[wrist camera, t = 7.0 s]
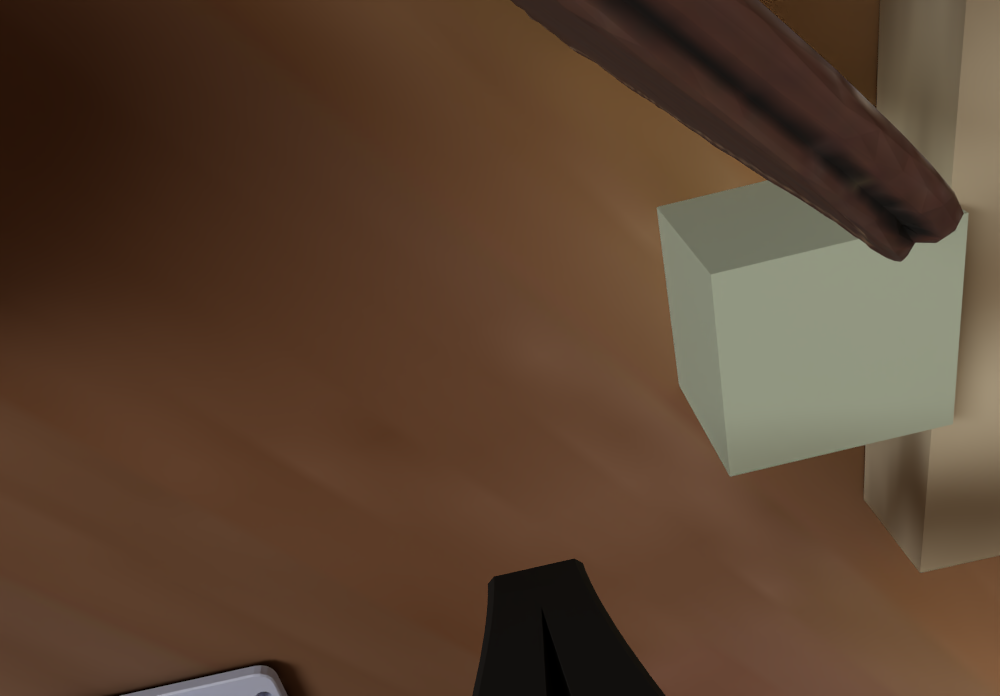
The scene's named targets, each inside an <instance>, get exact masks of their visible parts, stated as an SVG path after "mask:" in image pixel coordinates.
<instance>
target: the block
mask: <svg viewBox="0 0 1000 696" xmlns="http://www.w3.org/2000/svg"><path fill="white" fill-rule="evenodd" d="M962 211H963V213H964V214H963V216H962V218H961V220H960V222H959V224H958V226H957V228H956V230H955V231H954V232H952V233H951V234H949V235H948V236H946V237H945V238H943V239H942V240H940V241H939V242H937V243H915V244H914V246H913V247H912V249H911V251H910V252H909V254H908V256H907V257H906V258H905V259H904V260H903V261H901V262H898V261H893V260H890V259H888V258H886V257H884V256H882V255H880V254H879V253H877V252H875V251H874V250H872V249H870V248H869V247H868V246H867V245H866V244H865V243H864V242H862V241H861V240H860V239H858V238H856V237H854V236H853V235H852V234H850V233H849V232H848V231H846V230H845V229H844V228H842V227H841V226H840V225H838V224H837V223H836V222H834V221H832V220H831V219H829V218H827V217H826V216H824V215H823V214H821V213H820V212H818V211H817V210H815V209H814V208H812V207H811V206H809V205H808V204H806V203H805V202H803V201H802V200H800V199H798V198H797V197H795V196H793V195H792V194H790V193H789V192H787V191H785V190H783V189H782V188H780V187H778V186H776V185H774V184H773V183H771V182H770V181H768V180H767V181H763V182H759V183H755V184H751V185H747V186H743V187H738V188H734V189H730V190H726V191H722V192H718V193H714V194H709V195H705V196H701V197H697V198H693V199H689V200H685V201H681V202H676V203H672V204H668V205H664V206H660V207H657V213H658V221H659V229H660V237H661V245H662V253H663V261H664V269H665V277H666V285H667V293H668V300H669V308H670V316H671V324H672V332H673V340H674V348H675V356H676V364H677V372H678V380H679V386H680V388H681V390H682V391H683V393H684V395H685V397H686V399H687V400H688V402H689V404H690V406H691V408H692V409H693V411H694V413H695V415H696V417H697V418H698V420H699V422H700V424H701V426H702V427H703V429H704V431H705V433H706V434H707V436H708V438H709V440H710V442H711V443H712V445H713V447H714V449H715V451H716V452H717V454H718V456H719V458H720V460H721V461H722V463H723V465H724V467H725V469H726V470H727V472H728V474H729V476H730V477H731V476H735V475H739V474H743V473H748V472H752V471H756V470H760V469H765V468H769V467H773V466H777V465H782V464H786V463H790V462H794V461H799V460H803V459H807V458H811V457H816V456H820V455H824V454H828V453H833V452H837V451H841V450H845V449H850V448H854V447H858V446H862V445H867V444H871V443H875V442H879V441H884V440H888V439H892V438H896V437H901V436H905V435H909V434H913V433H918V432H922V431H926V430H930V429H935V428H939V427H943V426H947V425H952V424H953V417H954V404H955V390H956V377H957V363H958V350H959V336H960V323H961V309H962V296H963V282H964V268H965V255H966V241H967V228H968V214H969V213H968V212H966V211H965V210H963V209H962Z"/></svg>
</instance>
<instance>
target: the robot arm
mask: <svg viewBox="0 0 1000 696" xmlns="http://www.w3.org/2000/svg"><path fill="white" fill-rule="evenodd" d="M121 696H288V695H287V693H286V691H285V689H284V687H283V685H282V683H281V681H280V679H279V677H278V675H277V673H276V672H275V671H274V670H273V669H272V668H270V667H268V666H263V665H257V666H252V667H247V668H243V669H238V670H234V671H229V672H225V673H220V674H216V675H211V676H206V677H202V678H197V679H193V680H188V681H184V682H179V683H175V684H170V685H166V686H161V687H157V688H152V689H148V690H143V691H139V692H134V693H130V694H125V695H121ZM472 696H665V694H664V693H663V692H662V690H661V689H660V688H659V687H658V685H657V684H656V683H655V681H654V680H653V679H652V677H651V676H650V675H649V673H648V672H647V671H646V669H645V668H644V666H643V665H642V664H641V662H640V661H639V659H638V658H637V657H636V655H635V654H634V652H633V651H632V650H631V648H630V647H629V645H628V644H627V643H626V641H625V640H624V638H623V637H622V635H621V634H620V632H619V630H618V629H617V627H616V626H615V624H614V623H613V621H612V619H611V618H610V616H609V614H608V613H607V611H606V610H605V608H604V606H603V604H602V603H601V601H600V599H599V597H598V596H597V594H596V592H595V590H594V588H593V586H592V584H591V582H590V580H589V577H588V575H587V573H586V571H585V568H584V565H583V563H582V562H580V561H578V560H576V559H571V560H566V561H562V562H557V563H553V564H548V565H544V566H539V567H535V568H531V569H526V570H522V571H517V572H513V573H508V574H504V575H499V576H495V577H493V579H492V580H491V581H490V582H489V583H488V605H487V617H486V625H485V633H484V639H483V645H482V651H481V657H480V662H479V667H478V672H477V677H476V681H475V686H474V691H473V695H472Z"/></svg>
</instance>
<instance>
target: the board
mask: <svg viewBox="0 0 1000 696" xmlns="http://www.w3.org/2000/svg"><path fill="white" fill-rule="evenodd" d="M876 109H877V110H878V111H879V112H880V113H881V114H882V115H884V116H885V117H886V118H887V119H888V120H889V121H890V122H891V123H892V124H893V125H894V126H895V127H896V128H897V129H898V130H899V131H900V132H901V133H902V134H903V135H904V136H905V137H906V138H907V139H908V140H909V141H910V142H911V143H912V145H913V146H914V147H915V148H916V149H917V150H918V151H919V152H920V153H921V154H922V155H923V156H924V157H925V158H926V159H927V160H928V161H929V162H930V163H931V165H932V166H933V167H934V168H935V169H936V171H937V172H938V173H939V174H940V175H941V177H942V178H943V179H944V180H945V181H946V183H947V184H948V185H949V186H950V188H951V189H952V190H953V191H954V192H955V195H956V197H957V199H958V201H959V204H960V206H961V208H962V209H963V210H965V211H966V212H968V213H969V214H968V228H967V241H966V255H965V268H964V282H963V296H962V309H961V323H960V336H959V350H958V363H957V377H956V390H955V404H954V417H953V424H952V425H947V426H943V427H939V428H935V429H930V430H926V431H922V432H918V433H913V434H909V435H905V436H901V437H896V438H892V439H888V440H884V441H879V442H875V443H871V444H867V445H865V475H864V500H865V502H866V503H867V504H868V506H869V507H870V508H871V509H872V511H873V512H874V513H875V515H876V516H877V517H878V519H879V520H880V521H881V523H882V524H883V525H884V527H885V528H886V529H887V530H888V532H889V533H890V534H891V536H892V537H893V538H894V540H895V541H896V542H897V544H898V545H899V546H900V547H901V549H902V550H903V551H904V553H905V554H906V555H907V557H908V558H909V559H910V561H911V562H912V563H913V565H914V566H915V567H916V568H917V570H918V571H919V572H920V573H923V572H927V571H932V570H936V569H941V568H945V567H950V566H954V565H959V564H963V563H968V562H972V561H977V560H982V559H986V558H991V557H995V556H1000V0H880V14H879V45H878V76H877V107H876Z"/></svg>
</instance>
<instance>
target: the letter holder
mask: <svg viewBox="0 0 1000 696" xmlns="http://www.w3.org/2000/svg"><path fill="white" fill-rule="evenodd" d="M511 1H512V2H513V3H514V4H515V5H516V6H518V7H520V8H522V9H523V10H525V11H526V13H527V14H528V16H529V17H530V18H531V19H533V20H535V21H537V22H539V23H540V24H541V25H542V26H544V27H545V28H546V29H547V30H549V31H550V32H552V33H553V34H555V35H556V36H557V37H558V38H559V39H560V40H561V41H563V42H564V43H565V44H567V45H568V46H569V47H570V48H571V49H573V50H574V51H576V52H577V53H579V54H581V55H582V56H584V57H586V58H588V59H590V60H592V61H594V62H595V63H597V64H598V65H599V66H601V67H602V68H603V69H604V70H605V71H607V72H609V73H610V74H611V75H613V76H614V77H615V78H616V79H617V80H619V81H620V82H621V83H623V84H624V85H626V86H627V87H628V88H630V89H631V90H633V91H634V92H636V93H637V94H639V95H641V96H642V97H644V98H646V99H647V100H649V101H650V102H652V103H654V104H655V105H656V106H657V107H658V108H661V109H663V110H665V111H666V112H667V113H669V114H670V115H671V116H673V117H674V118H676V119H677V120H678V121H679V122H681V123H682V124H684V125H685V126H686V127H688V128H689V129H691V130H692V131H694V132H696V133H697V134H699V135H700V136H702V137H703V138H704V139H706V140H707V141H708V142H710V143H711V144H712V145H713V146H715V147H716V148H718V149H720V150H721V151H723V152H725V153H726V154H728V155H730V156H732V157H734V158H735V159H737V160H738V161H740V162H741V163H742V164H744V165H745V166H747V167H748V168H750V169H752V170H753V171H755V172H756V173H758V174H759V175H761V176H762V177H764V178H765V179H767V180H768V181H770V182H771V183H773V184H774V185H776V186H778V187H780V188H782V189H783V190H785V191H787V192H789V193H790V194H792V195H793V196H795V197H797V198H798V199H800V200H802V201H803V202H805V203H806V204H808V205H809V206H811V207H812V208H814V209H815V210H817V211H818V212H820V213H821V214H823V215H824V216H826V217H827V218H829V219H831V220H832V221H834V222H836V223H837V224H838V225H840V226H841V227H842V228H844V229H845V230H846V231H848V232H849V233H850V234H852V235H853V236H854V237H856V238H858V239H860V240H861V241H862V242H864V243H865V244H866V245H867V246H868V247H869V248H870V249H872V250H874V251H875V252H877V253H879V254H880V255H882V256H884V257H886V258H888V259H890V260H893V261H898V262H901V261H903V260H904V259H905V258H906V257H907V256H908V254H909V252H910V251H911V249H912V247H913V246H914V244H915V243H937V242H939V241H940V240H942V239H943V238H945V237H946V236H948V235H949V234H951V233H952V232H954V231H955V230H956V228H957V226H958V224H959V222H960V220H961V218H962V216H963V214H964V213H963V211H962V208H961V206H960V204H959V201H958V199H957V197H956V195H955V192H954V191H953V190H952V189H951V188H950V186H949V185H948V184H947V183H946V181H945V180H944V179H943V178H942V177H941V175H940V174H939V173H938V172H937V171H936V169H935V168H934V167H933V166H932V165H931V163H930V162H929V161H928V160H927V159H926V158H925V157H924V156H923V155H922V154H921V153H920V152H919V151H918V150H917V149H916V148H915V147H914V146H913V145H912V143H911V142H910V141H909V140H908V139H907V138H906V137H905V136H904V135H903V134H902V133H901V132H900V131H899V130H898V129H897V128H896V127H895V126H894V125H893V124H892V123H891V122H890V121H889V120H888V119H887V118H886V117H885V116H884V115H882V114H881V113H880V112H879V111H878V110H877V109H876V108H875V107H874V106H873V105H872V104H871V103H870V102H869V101H868V100H867V99H866V98H865V97H864V96H863V95H862V94H861V93H860V92H859V91H858V90H857V89H856V88H855V87H854V86H853V85H851V84H850V83H849V82H848V81H847V80H846V79H845V78H844V77H843V76H842V75H841V74H840V73H839V72H838V71H837V70H836V69H835V68H834V67H833V66H832V65H830V64H829V63H828V62H827V61H826V60H825V59H824V58H823V57H822V56H820V55H819V54H818V53H817V52H816V51H815V50H814V49H813V48H811V47H810V46H809V45H808V44H807V43H806V42H805V41H804V40H802V39H801V38H800V37H799V36H798V35H797V34H796V33H795V32H794V31H792V30H791V29H790V28H789V27H788V26H787V25H786V24H785V23H783V22H782V21H781V20H780V19H779V18H778V17H777V16H776V15H775V14H773V13H772V12H771V11H770V10H769V9H768V8H767V7H765V6H764V5H763V4H762V3H761V2H760V1H759V0H511Z"/></svg>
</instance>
